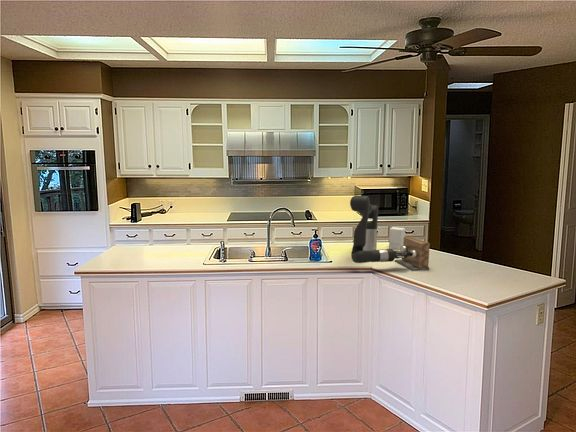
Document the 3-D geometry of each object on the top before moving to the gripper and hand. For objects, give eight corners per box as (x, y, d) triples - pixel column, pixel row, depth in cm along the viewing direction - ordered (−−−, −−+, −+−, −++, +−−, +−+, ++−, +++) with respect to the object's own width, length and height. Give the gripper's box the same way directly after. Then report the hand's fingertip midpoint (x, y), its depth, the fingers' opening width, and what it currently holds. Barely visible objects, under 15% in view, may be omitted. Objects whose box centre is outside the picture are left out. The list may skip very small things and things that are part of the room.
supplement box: (404, 248, 315) (405, 227, 312) (401, 250, 307) (401, 229, 305) (392, 246, 319) (393, 226, 317) (388, 248, 312) (389, 228, 310)
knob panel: (412, 270, 256) (413, 244, 253) (394, 261, 277) (395, 237, 274) (429, 269, 258) (430, 243, 256) (410, 260, 279) (411, 236, 277)
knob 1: (403, 253, 269) (403, 246, 269) (399, 252, 274) (400, 245, 273) (414, 253, 271) (415, 246, 271) (411, 251, 275) (411, 244, 275)
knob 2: (413, 258, 258) (413, 251, 257) (409, 256, 262) (409, 249, 261) (425, 257, 260) (425, 250, 259) (421, 255, 264) (421, 248, 263)
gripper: (390, 251, 249) (417, 250, 253) (380, 246, 261) (406, 245, 265) (389, 264, 250) (417, 262, 254) (379, 258, 262) (405, 257, 267)
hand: (411, 253), depth 260 cm, fingers closed
